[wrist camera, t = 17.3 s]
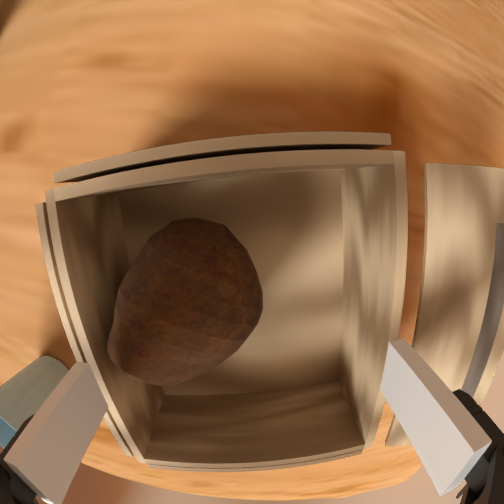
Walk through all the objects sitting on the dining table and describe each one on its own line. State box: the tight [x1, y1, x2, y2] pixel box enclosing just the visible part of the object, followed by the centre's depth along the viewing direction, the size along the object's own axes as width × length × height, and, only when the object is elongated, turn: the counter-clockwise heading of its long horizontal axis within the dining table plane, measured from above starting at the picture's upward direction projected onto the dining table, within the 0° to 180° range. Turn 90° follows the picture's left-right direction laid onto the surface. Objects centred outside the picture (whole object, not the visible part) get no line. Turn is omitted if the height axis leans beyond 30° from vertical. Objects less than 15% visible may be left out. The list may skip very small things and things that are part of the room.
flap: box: [385, 163, 504, 446], centre depth 11 cm, size 17×1×6 cm
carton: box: [36, 131, 408, 472], centre depth 16 cm, size 20×17×8 cm
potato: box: [107, 218, 263, 387], centre depth 15 cm, size 7×10×8 cm
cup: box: [0, 355, 69, 449], centre depth 17 cm, size 8×8×10 cm
